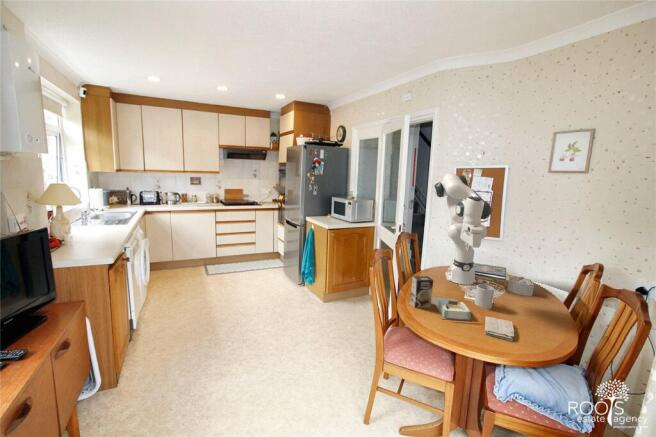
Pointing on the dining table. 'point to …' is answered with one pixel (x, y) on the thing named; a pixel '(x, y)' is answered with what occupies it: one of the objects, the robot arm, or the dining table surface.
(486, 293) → the mug
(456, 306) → the beige box with tab
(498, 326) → the washcloth
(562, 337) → the dining table surface
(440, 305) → the dock
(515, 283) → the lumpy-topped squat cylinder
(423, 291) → the coffee box
